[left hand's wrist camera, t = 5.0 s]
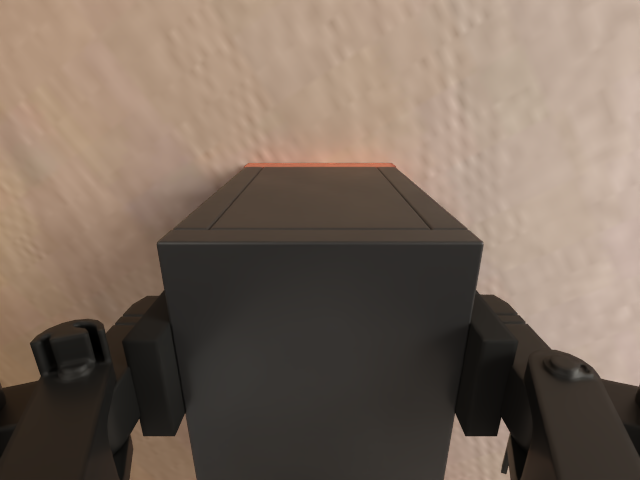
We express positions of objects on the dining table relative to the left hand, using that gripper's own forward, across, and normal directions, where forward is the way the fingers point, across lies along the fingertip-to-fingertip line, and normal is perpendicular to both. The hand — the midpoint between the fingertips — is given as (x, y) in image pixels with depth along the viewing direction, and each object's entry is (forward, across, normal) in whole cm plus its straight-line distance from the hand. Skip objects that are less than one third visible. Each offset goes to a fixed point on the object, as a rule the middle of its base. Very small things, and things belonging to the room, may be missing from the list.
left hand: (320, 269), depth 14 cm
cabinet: (+5, 0, -5) cm, 7 cm away
